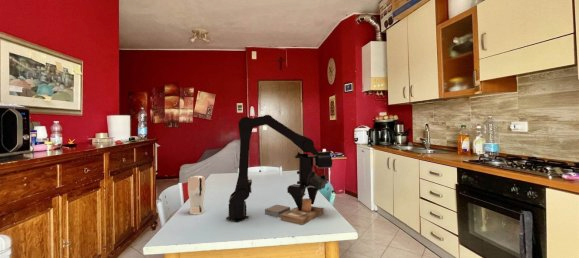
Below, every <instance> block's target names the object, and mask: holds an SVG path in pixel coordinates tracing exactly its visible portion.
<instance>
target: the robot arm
mask: <svg viewBox="0 0 579 258" xmlns="http://www.w3.org/2000/svg"><path fill="white" fill-rule="evenodd" d="M237 126H238V131H239V132H238V134H239V139H240V144H239V158H238V176H237V180H236V185H235V189H234V191H233V192H232V193H231V194H230V196H229V200H228V216H227V217H225V219H226V220H228V221H232V222H237V223H239V222H240V221H244V220H245V219H248V218H250V216H249V215H247V204H246V201H247V199H248V198H249V196H250V194H252V184H253V180H252V179H251V178H250V179H249V175H248V174H249V157H250V141H251V138H252V133H253V128H257V127H262V126H268V127H269V128H271V129H272V130H274V131H276V133H278V134H280V135H281V136H283V137H285V138H286V139H288V140H289V141H290V142H291V143H292V144H293V145H294V146H295V147H297V148H298V150H300V151H301V153H300V151H297V152H296V154H294V155H293V157H294V158H295V159H298V170H297V171H296V174H297V175H298V181H296V184H295V183H293V184H290V185H288V186H287V189H286V190H287V191H286V192H287V194H289V195H290V196H291V198H292V199H293V200H294V203H295V205H296V207H298V209H299V210H302V201H303V199H304V196H306V191H307V194H308V199H311V206H314V204H315V200H316V197H317V194H318V192H319V191H321V190H323V189H325V188H326V185H327V184H328V183H329V182H328V176H327V175H325V174H322V175H317V172H316V171H315V170H314V166H315V167H316V169H331V168H332V167H333V158H332V155H331V151H329V150H328V151H318V149H316V147H315V143H314V140H312V139H311V138H309V137H307V136H305V135H303V134H299V133H297V132H296V131H294V130H292V129H290V128H289V127H287V126H286V125H284V124H283V123H281V122H280V121H279V120H277V119H275V118H274V117H273V116H272V115H270V114H265V115H261V116H256V117H249V116H243V117H241V118H239V121H238V125H237ZM302 152H303V153H302ZM308 153H309V154H310V155H309V154H308ZM306 189H307V190H306Z"/></svg>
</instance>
